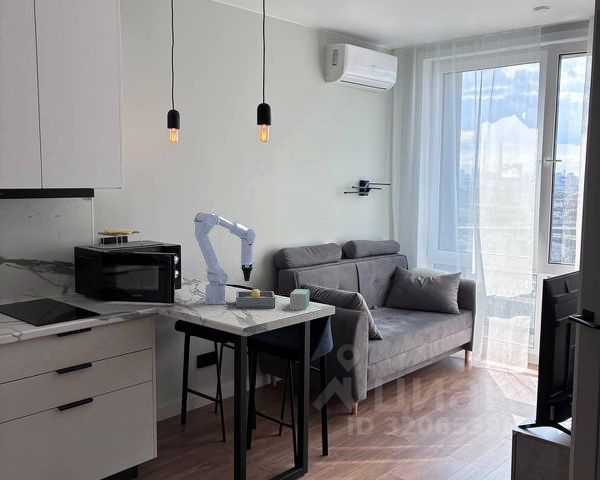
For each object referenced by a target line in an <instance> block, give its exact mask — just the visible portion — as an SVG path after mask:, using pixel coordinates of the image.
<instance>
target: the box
mask: <svg viewBox="0 0 600 480" xmlns="http://www.w3.org/2000/svg"><path fill="white" fill-rule="evenodd" d="M309 305H310V289H304V288H303V289H302V288H296V289H294V290H292V291H291V292H290V294H289V309H290V310H297V311H300V310H301V311H304V310H306V309H307V308H308V307H309Z"/></svg>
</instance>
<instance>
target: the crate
mask: <svg viewBox="0 0 600 480" xmlns="http://www.w3.org/2000/svg"><path fill="white" fill-rule="evenodd" d="M235 296H236V297H235V309H276V295H275V292H274V291H273V290H271V291H267V290H261V291H260V297H251V290H249V291H248V290H243V291H242V290H241V291H239V290H237V291H236V295H235Z"/></svg>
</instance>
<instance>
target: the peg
mask: <svg viewBox="0 0 600 480" xmlns="http://www.w3.org/2000/svg"><path fill="white" fill-rule="evenodd" d="M250 291H251V297H260V289H257V288H256V289H251V290H250Z"/></svg>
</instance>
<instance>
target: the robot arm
mask: <svg viewBox="0 0 600 480" xmlns="http://www.w3.org/2000/svg"><path fill="white" fill-rule="evenodd" d="M193 223H194V236H195V238H196V241H197V243H198V246H199V249H200V252H201V253H202V256H203V259H204V261H205V263H206V266H207V268H206V270H205V271H206V277H207V280H208V281H209V284H205V296H204V300H205V303H204V304H205V305H226V302H227V300H226V284H227V282H228V281H229V275H228V273H227V272H226V271H225V269H224V267H222V266H221V264H220V263H219V261H218V258H217V255H216V253H215V250H214V248H213V246H212V243H211V240H210V238H209V233H210V232H211V230H212V229H213V228H214V227H215V226H220V227H223V228H225V229H227V230H229V231H228V232H229V233H230V234H231V235H234V236H236V237H238V238H239V239H241V241H240V242H241V244H240V246H241V247H240V248H241V249H240V250H241V251H240V255H241V256H240V263H241V267H240V268H241V270H242V273H243V280H244V282H250V279H251V278H250V277H251V274H252V271H253V269H254V268H253V264H256V261H255V260H254V241H255V239H256V233H255V231H254V229H253V228H248V226H246V225H242V224H240V222H239V221H236V222H235V221H233V222H230V221H229V220H227V219H225V218H223V217H222V216H220V215H218V214H214V213H212V212H210V213H207V212H203V211H202V212H201V211H200V212H198V213H196V215H195V217H194V219H193Z"/></svg>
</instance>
